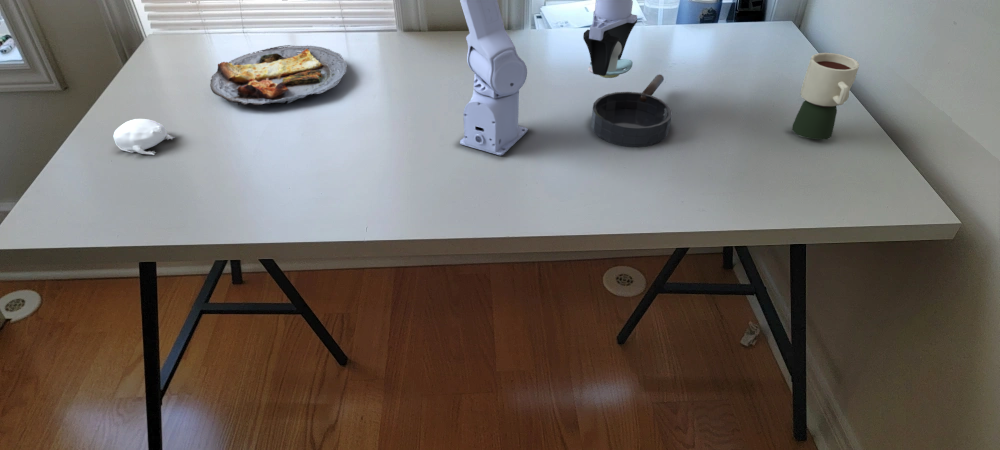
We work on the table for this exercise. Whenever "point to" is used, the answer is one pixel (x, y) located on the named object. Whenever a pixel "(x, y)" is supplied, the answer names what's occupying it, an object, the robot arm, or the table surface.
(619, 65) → the pacifier
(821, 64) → the character mug
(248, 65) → the food plate
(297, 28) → the table surface
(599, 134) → the pan
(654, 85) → the pan handle
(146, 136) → the white frog figurine
